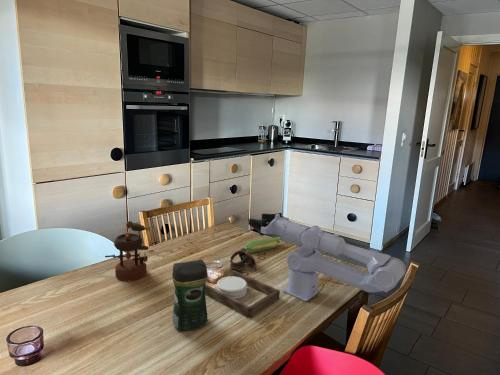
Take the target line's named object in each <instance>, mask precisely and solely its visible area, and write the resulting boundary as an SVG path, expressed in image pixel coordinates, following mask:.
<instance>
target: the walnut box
mask: <svg viewBox="0 0 500 375" xmlns="http://www.w3.org/2000/svg"><path fill="white" fill-rule="evenodd" d="M231 276H235V277H240V278H242V279H244V280H245V281H246V282H247V288H248V287H249V288H251V289H253V290H255V291H257V292H259V293H262V294H263V295H265V297H263V298H261V299H259V300H258V301H256V302H255V303H253V304H252V305H250V306H249V305H248V304H246V303H243V302H241V301H240V300H239V299H234V298H232V297H230V296H228V295H226V294H224V293H222V292H220V291H218V290H217V288H214V287H212V286H210V285H209V284H207V283H206V284H205V296H208V298H211V299H212V300H215V301H216V302H218V303H220V304H222V305H224V306H225V307H228V308H229V309H231V310H233V311H236V312H237V313H238V314H241V315H243V316H244V317H246V318H248V319H251V318H253V317H255V316H256V315H257V314H258V313H260V312H262V311H263V310H265V309H266V308H268V307H269V306H271V305H272V304H274V303H275V302H276V301H278V300H280V296H281V295H280V293H281V291H280V289H277V288H275V287H272V286H271V285H268V284H267V283H264V282H262V281H259V280H257V279H255V278H253V277H251V276H248V275H245V274H243V273H241V272H239V271H237V270H236V269H233V270H231Z"/></svg>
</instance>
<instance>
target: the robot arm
mask: <svg viewBox="0 0 500 375" xmlns="http://www.w3.org/2000/svg"><path fill="white" fill-rule="evenodd" d="M248 225H249V226H250V227H252V228H253V229H255V231H257V232H258V234H259V236H262V237H263V236H265V235H267V234H268V235H277V236H279V237H284V238H286V239H289V240H292V241H295V242H299V243H301V244H302V245H301V246H300V247H299V248H296V249H295V250H293V251H291V252H289V253H288V254H287V255H286V263H287V266H288V267H289V271H288V272H289V273H288V284H287V286H286V287H285V288H283V289H282V291H283V293H286V294H288V295H290V296H293V297H295V298H297V299H299V300H302V301H304V302H308V301H309V300H311V299H312V298H313V297H315V296H316V295H317V294H318V293H319V291H318V289H319V279H320V277H319V276H320V275H319V274H321V275H323V276H327V277H329V278H332V279H333V280H337V281H339V282H341V283H343V284H346V285H349V286H351V287H354V288H356V289H359V290H361V291H363V292H366V293H377V292H385V293H388V292H389V291H391V290H392V289H394V288H395V287H396V286H397V284H398V282H399V281H400V280H401V279H402V278H403V277H404V276H405V274H406V271H407V270H406V269H407V268H406V266H405V264H404V262H403V261H402V260H401V259H400V258H398V257H397V258H396V257H392V256H391V255H390V254H387V253H381V252H376V251H372V250H370V249H366V248H362V247H359V246H356V245H352V244H349V243H347V242H346V241H345V239H344V238H343V237H341V236H340V234H337V233H334V234H332V233H329V232H327V231H325V230H324V229H321V228H320V227H319V226H318V225H313V226H311V227H310V226H308V225H304V224H302V223H298V222H295V221H291V220H290V219H289V217H286V216H283V213H282V212H279V213H262V214H261V219H256V218H249V219H248ZM317 249H319V250H321V251H323V252H326V253H328V254H330V255H334V256H336V257H337V256H340V255H344V256H347V257H349V258H351V259H353V260H355V261H358V262H360V263H362V264H363V265H364V264H365V265H366V268H367V270H368V272H367V271H365V270H363V269H359V268H357V267H353V266H351V265H348V264H346V263H343V262H340V261H337V260H335V259H332V258H328V257H326V256H324V255H322V253H321V251H319V250H317Z"/></svg>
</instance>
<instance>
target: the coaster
mask: <svg viewBox="0 0 500 375" xmlns="http://www.w3.org/2000/svg"><path fill="white" fill-rule="evenodd" d="M216 285H217V286H216V290H218V291H220V292H222V293H224V294H226V295H228V296H230V297H232V298H234V299H236V300H240V299H242V298H244V297H245V296H246V295H247V293H248V286H247V282H246V281H245V280H244V279H242V278H240V277H235V276H232V275H231V276H230V275H229V276H224V277H222V278H220V279H219V280H218V281H217V283H216Z"/></svg>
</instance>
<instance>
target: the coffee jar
mask: <svg viewBox="0 0 500 375" xmlns="http://www.w3.org/2000/svg"><path fill="white" fill-rule="evenodd" d="M208 278H209V274H208V267H207V264H206V262H204V260H203V259H202V258H200V259H195V260H188V261H182V262H175V263H174V264H173V266H172V274H171V279H172V283H173V284H174V298H173V308H172V309H173V310H172V324H173V326H174V328H176V330H178V331H181V332H185V331H190V330H195V329H199V328H201V327H204V326H206V324H207V323H208V308H207V299H206V295H205V284H206V285H207V281H208Z"/></svg>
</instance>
